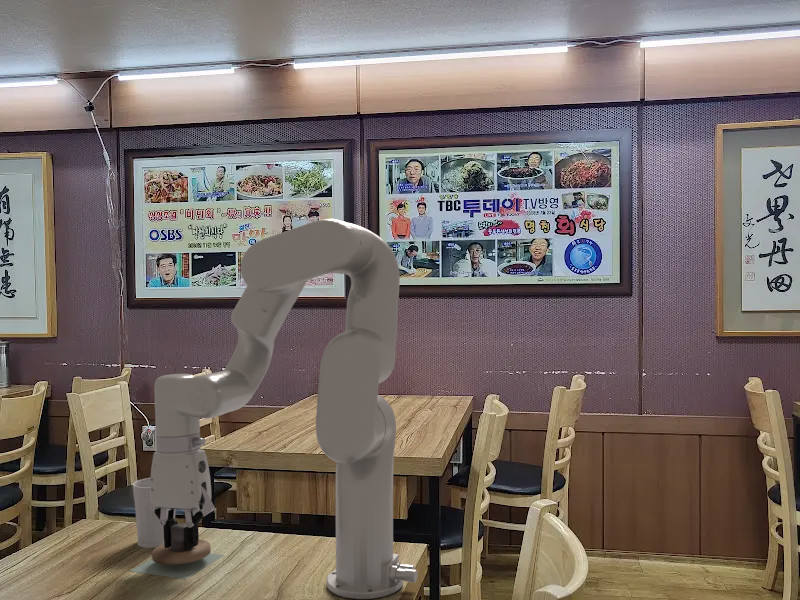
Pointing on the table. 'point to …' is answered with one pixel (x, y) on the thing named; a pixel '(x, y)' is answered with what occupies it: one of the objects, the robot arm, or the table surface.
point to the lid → (180, 549)
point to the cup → (146, 517)
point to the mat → (176, 567)
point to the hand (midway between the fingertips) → (181, 545)
